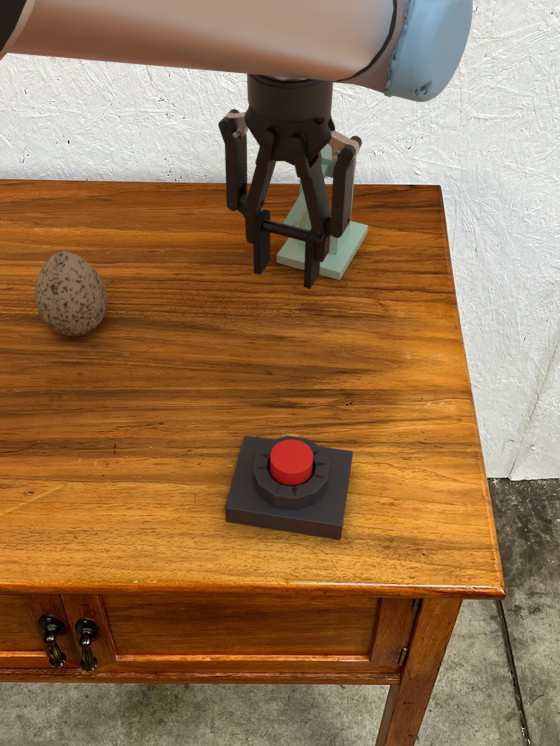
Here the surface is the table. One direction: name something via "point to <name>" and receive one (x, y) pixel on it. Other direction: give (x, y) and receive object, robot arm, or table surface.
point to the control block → (290, 491)
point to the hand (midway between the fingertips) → (286, 273)
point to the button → (291, 462)
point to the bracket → (339, 247)
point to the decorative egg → (70, 295)
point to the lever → (300, 206)
